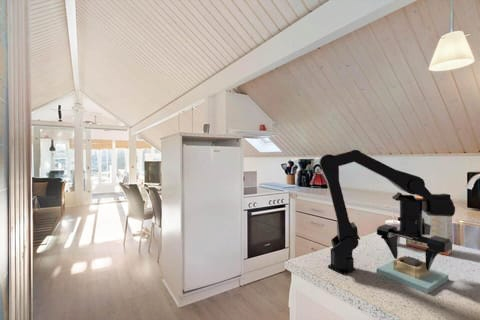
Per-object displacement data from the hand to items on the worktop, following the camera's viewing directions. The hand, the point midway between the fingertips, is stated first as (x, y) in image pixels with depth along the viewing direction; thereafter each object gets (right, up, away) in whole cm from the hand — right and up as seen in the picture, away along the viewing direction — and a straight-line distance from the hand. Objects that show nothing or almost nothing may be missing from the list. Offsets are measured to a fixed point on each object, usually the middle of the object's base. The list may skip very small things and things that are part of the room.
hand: (411, 263), depth 75 cm
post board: (0, -4, 0) cm, 4 cm away
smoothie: (+12, -4, +27) cm, 30 cm away
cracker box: (+22, -4, +21) cm, 31 cm away
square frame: (0, -3, 0) cm, 2 cm away
